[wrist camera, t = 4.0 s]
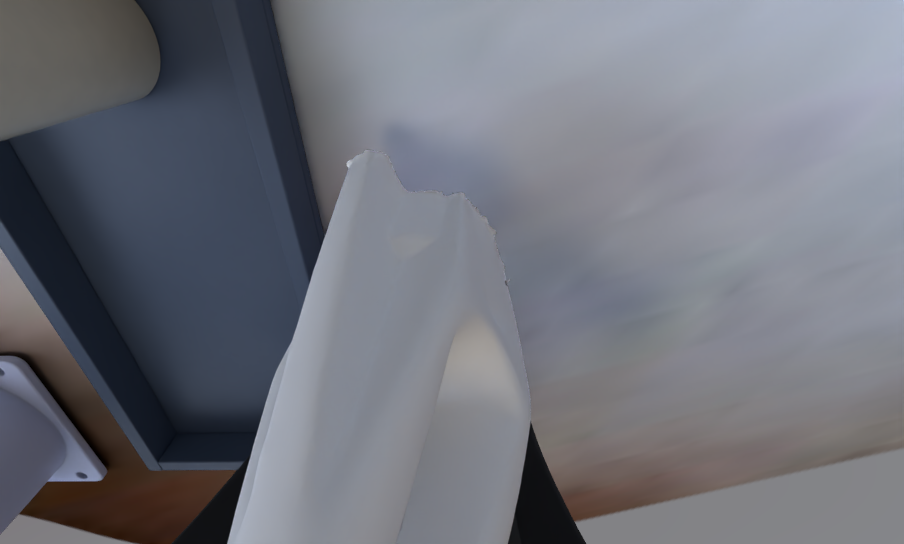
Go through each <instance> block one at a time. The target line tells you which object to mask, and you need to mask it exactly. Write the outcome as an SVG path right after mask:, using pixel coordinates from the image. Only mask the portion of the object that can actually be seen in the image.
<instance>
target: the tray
mask: <svg viewBox="0 0 904 544" xmlns="http://www.w3.org/2000/svg"><path fill="white" fill-rule="evenodd" d="M135 1H136V2H137V4H138V5H139V6H140V8H141V9H142V10H143V12H144V13H145V15H146V16H147V18H148V20H149V22H150V24H151V26H152V28H153V30H154V32H155V35H156V38H157V41H158V44H159V50H160V58H161V65H160V73H159V77H158V80H157V82H156V84H155V86H154V88H153V89H152V91H151V92H150V93H149V94H148V95H147V96H145V97H144V98H142V99H141V100H139V101H136V102H133V103H129V104H126V105H123V106H119V107H116V108H113V109H109V110H106V111H102V112H99V113H96V114H92V115H89V116H86V117H82V118H79V119H76V120H72V121H69V122H65V123H62V124H59V125H55V126H52V127H49V128H45V129H42V130H38V131H35V132H32V133H28V134H25V135H22V136H18V137H15V138H12V139H8V140H5V141H1V142H0V248H1V250H2V251H3V253H4V254H5V256H6V257H7V258H8V260H9V261H10V263H11V264H12V266H13V267H14V269H15V270H16V272H17V273H18V275H19V276H20V278H21V279H22V281H23V282H24V284H25V285H26V287H27V288H28V290H29V291H30V293H31V294H32V296H33V297H34V299H35V300H36V302H37V303H38V305H39V306H40V308H41V309H42V311H43V312H44V314H45V315H46V317H47V318H48V320H49V321H50V323H51V324H52V326H53V327H54V329H55V330H56V332H57V333H58V335H59V336H60V338H61V339H62V341H63V342H64V344H65V345H66V347H67V348H68V350H69V351H70V353H71V354H72V356H73V357H74V358H75V360H76V361H77V363H78V364H79V366H80V367H81V369H82V370H83V372H84V373H85V375H86V376H87V378H88V379H89V381H90V382H91V384H92V385H93V387H94V388H95V390H96V391H97V393H98V394H99V396H100V397H101V399H102V400H103V402H104V403H105V405H106V406H107V408H108V409H109V411H110V412H111V414H112V415H113V417H114V418H115V420H116V421H117V423H118V424H119V426H120V427H121V429H122V430H123V432H124V433H125V435H126V436H127V438H128V439H129V441H130V442H131V444H132V445H133V447H134V448H135V450H136V451H137V453H138V454H139V455H140V457H141V458H142V460H143V461H144V463H145V464H146V466H147V467H148V469H149V470H238V469H239V467H240V466H241V465H242V464H243V463H244V461H245V460H246V459H247V458H248V457H249V455H250V454H251V453H252V449H253V445H254V442H255V438H256V435H257V431H258V428H259V424H260V421H261V417H262V414H263V411H264V407H265V403H266V400H267V397H268V394H269V390H270V387H271V384H272V381H273V378H274V375H275V373H276V371H277V368H278V366H279V364H280V362H281V360H282V359H283V357H284V355H285V353H286V351H287V349H288V347H289V346H290V344H291V342H292V339H293V336H294V333H295V330H296V327H297V324H298V321H299V317H300V314H301V311H302V307H303V304H304V301H305V297H306V294H307V290H308V287H309V284H310V281H311V277H312V274H313V271H314V268H315V265H316V262H317V259H318V256H319V253H320V250H321V247H322V244H323V241H324V233H323V229H322V225H321V221H320V216H319V212H318V208H317V203H316V199H315V195H314V190H313V186H312V182H311V177H310V173H309V169H308V164H307V160H306V156H305V151H304V147H303V143H302V138H301V134H300V130H299V125H298V121H297V117H296V112H295V108H294V104H293V99H292V95H291V91H290V87H289V82H288V78H287V74H286V69H285V65H284V61H283V56H282V52H281V48H280V43H279V39H278V35H277V30H276V26H275V22H274V17H273V13H272V9H271V4H270V0H135Z"/></svg>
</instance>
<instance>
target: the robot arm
mask: <svg viewBox="0 0 904 544" xmlns="http://www.w3.org/2000/svg"><path fill="white" fill-rule="evenodd" d="M250 457H251V454H250V455H249V457H248V458H247V459H246V460H245V461H244V463H243V464H242V465H241V466H240V467H239V469H238V470H237V471H236V472H235V473H234V474H233V476H232V477H231V478H230V479H229V480H228V481H227V483H226V484H225V485H224V486H223V487H222V488H221V490H220V491H219V492H218V493H217V494H216V495H215V497H214V498H213V499H212V500H211V501H210V502H209V503H208V505H207V506H206V507H205V508H204V509H203V510H202V511H201V513H200V514H199V515H198V516H197V517H196V518H195V519H194V520H193V521H192V522H191V523H190V524H189V526H188V527H187V528H186V529H185V530H184V531H183V532H182V533H181V534H180V535H179V536H178V537H177V538H176V540H175V541H174V542H173V543H172V544H227V542H228V539H229V535H230V531H231V527H232V523H233V519H234V515H235V511H236V507H237V504H238V500H239V496H240V493H241V489H242V485H243V482H244V478H245V474H246V471H247V467H248V464H249V460H250ZM106 474H107V469H106V468H105V466H104V465H103V464H102V462H101V461H100V460H99V458H98V457H97V456H96V454H95V453H94V452H93V450H92V449H91V448H90V446H89V445H88V444H87V442H86V441H85V440H84V438H83V437H82V436H81V434H80V433H79V432H78V430H77V429H76V428H75V426H74V425H73V424H72V422H71V421H70V420H69V418H68V417H67V416H66V414H65V413H64V412H63V410H62V409H61V408H60V406H59V405H58V404H57V402H56V401H55V400H54V398H53V397H52V396H51V394H50V393H49V392H48V390H47V389H46V388H45V386H44V385H43V384H42V382H41V381H40V380H39V378H38V377H37V376H36V374H35V373H34V372H33V370H32V369H31V368H30V366H29V365H28V364H27V363H26V362H25V361H24V360H23V359H21V358H19V357H16V356H0V535H1V533H2V532H3V531H4V530H5V529H6V528H7V527H8V525H9V524H10V523H11V522H12V521H13V520H14V519H15V517H16V516H17V515H18V514H19V513H20V512H21V511H22V510H23V508H24V507H25V506H26V505H27V504H28V503H29V502H30V500H31V499H32V498H33V497H34V496H35V495H36V494H37V493H38V491H39V490H40V489H41V488H42V487H43V486H44V485H45V483H46V482H47V481H100V480H102V479H103V478H104V476H105V475H106ZM508 544H586V542H585V541H584V539H583V537H582V535H581V533H580V532H579V530H578V528H577V526H576V524H575V522H574V520H573V518H572V517H571V515H570V513H569V511H568V509H567V507H566V505H565V503H564V500H563V498H562V496H561V494H560V492H559V490H558V488H557V486H556V484H555V482H554V480H553V478H552V476H551V473H550V471H549V469H548V466H547V464H546V462H545V459H544V457H543V455H542V452H541V450H540V447H539V445H538V442H537V439H536V436H535V433H534V430H533V427H532V424H531V421H530V430H529V436H528V443H527V449H526V456H525V462H524V467H523V472H522V478H521V485H520V490H519V495H518V500H517V504H516V509H515V514H514V519H513V524H512V528H511V532H510V537H509V540H508Z"/></svg>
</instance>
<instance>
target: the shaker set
mask: <svg viewBox="0 0 904 544" xmlns="http://www.w3.org/2000/svg"><path fill="white" fill-rule="evenodd" d="M384 154H385V153H383V152H381V151H380V152H377V151H374V150H368V149H366V150H365V151H364V152H363V154H358V155H357V156H355V157H354V159H352V160H348V162H347V164H346V165H347V167H348V168H349V169H348V172H347V175H346V177H345V180H344V183H343V186H342V189H341V191H340V195H339V198H338V200H337V203H336V206H335V209H334V212H333V215H332V217H331V220H330V223H329V226H328V230H327V233H326V235H325V238H324V241H323V244H322V247H321V250H320V253H319V256H318V259H317V262H316V265H315V268H314V271H313V274H312V277H311V281H310V284H309V287H308V290H307V294H306V297H305V301H304V304H303V307H302V311H301V314H300V317H299V321H298V324H297V327H296V330H295V333H294V336H293V339H292V342H291V344H290V346H289V347H288V349H287V351H286V353H285V355H284V357H283V359H282V360H281V362H280V364H279V366H278V368H277V371H276V373H275V375H274V378H273V381H272V384H271V387H270V390H269V394H268V397H267V400H266V403H265V407H264V411H263V414H262V417H261V421H260V424H259V428H258V431H257V435H256V438H255V442H254V445H253V449H252V453H251V457H250V460H249V464H248V467H247V471H246V474H245V478H244V482H243V485H242V489H241V493H240V496H239V500H238V504H237V507H236V511H235V515H234V519H233V523H232V527H231V531H230V535H229V539H228V542H227V544H508V540H509V537H510V532H511V528H512V524H513V519H514V514H515V509H516V504H517V500H518V495H519V490H520V485H521V478H522V472H523V467H524V462H525V456H526V449H527V443H528V436H529V430H530V421H531V400H530V391H529V384H528V380H527V375H526V370H525V365H524V360H523V354H522V348H521V344H520V339H519V333H518V328H517V324H516V319H515V314H514V310H513V305H512V302H511V298H510V294H509V289H508V285H507V283H508V282H509V281H510V280H511V279H508V280H507V281H506V277H505V274H504V269H505V265H504V264H503V261H502V260H501V258H500V254H499V251H498V250H497V249H498V248H497V245H496V238H495V237H494V234H496V231H495V229H493V228H492V227H491V226H490V225H489V224H488V220H487V218H486V217H485V216H481V215H480V214H479V213H480V212H479V210H478V209H477V207H476V208H474V207H475V206H474V205H472V203H471V202H470V201H469V199H466V196H465V194H464V193H463V192H461V193H456V194H454V193H452V195H448V196H445V195H443V194H442V191H441V192H438V191H435V190H433V191H430V190H426V191H417V192H415V191H413V192H409V191H407V190H406V189H405V188H404V187H403V186H402V185H401V181H400V180H399V179H398V177H397V175H396V174H395V170H394V169H393V168H392V163H391V162H390V159H389V156H387V155H384Z"/></svg>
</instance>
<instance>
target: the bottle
mask: <svg viewBox="0 0 904 544" xmlns="http://www.w3.org/2000/svg"><path fill="white" fill-rule="evenodd" d="M160 65H161V58H160V50H159V44H158V41H157V38H156V35H155V32H154V30H153V28H152V26H151V24H150V22H149V20H148V18H147V16H146V15H145V13H144V12H143V10H142V9H141V8H140V6H139V5H138V4H137V2H136V1H135V0H0V142H1V141H5V140H8V139H12V138H15V137H18V136H22V135H25V134H28V133H32V132H35V131H38V130H42V129H45V128H49V127H52V126H55V125H59V124H62V123H65V122H69V121H72V120H76V119H79V118H82V117H86V116H89V115H92V114H96V113H99V112H102V111H106V110H109V109H113V108H116V107H119V106H123V105H126V104H129V103H133V102H136V101H139V100H141V99H142V98H144V97H145V96H147V95H148V94H149V93H150V92H151V91H152V89H153V88H154V86H155V84H156V82H157V80H158V77H159V73H160Z"/></svg>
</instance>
